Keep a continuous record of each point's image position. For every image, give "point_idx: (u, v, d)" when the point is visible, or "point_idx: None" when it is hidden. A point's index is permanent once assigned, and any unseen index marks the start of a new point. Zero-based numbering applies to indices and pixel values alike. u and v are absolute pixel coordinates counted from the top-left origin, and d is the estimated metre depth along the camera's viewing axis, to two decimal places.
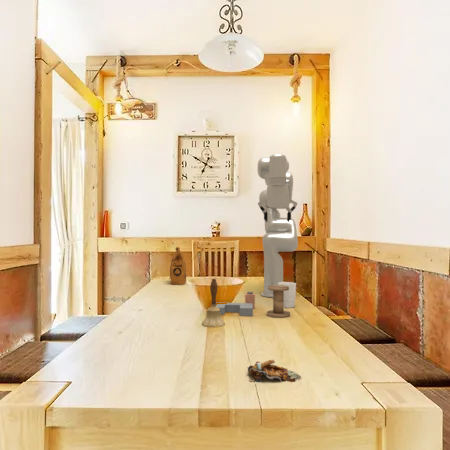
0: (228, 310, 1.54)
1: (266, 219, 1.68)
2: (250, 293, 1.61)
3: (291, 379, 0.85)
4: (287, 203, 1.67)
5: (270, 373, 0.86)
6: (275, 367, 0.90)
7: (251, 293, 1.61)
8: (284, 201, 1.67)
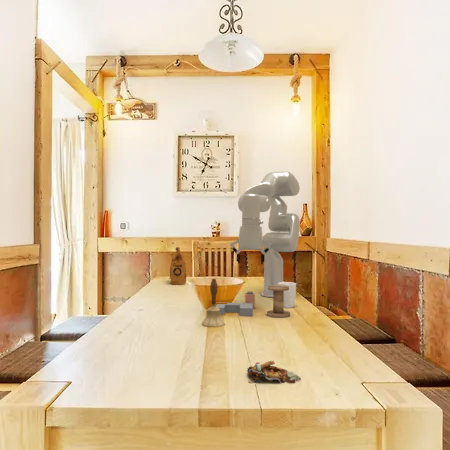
0: (228, 310, 1.54)
1: (238, 261, 1.61)
2: (250, 293, 1.61)
3: (291, 380, 0.84)
4: (260, 245, 1.60)
5: (269, 374, 0.85)
6: (275, 368, 0.89)
7: (251, 293, 1.61)
8: (257, 243, 1.60)
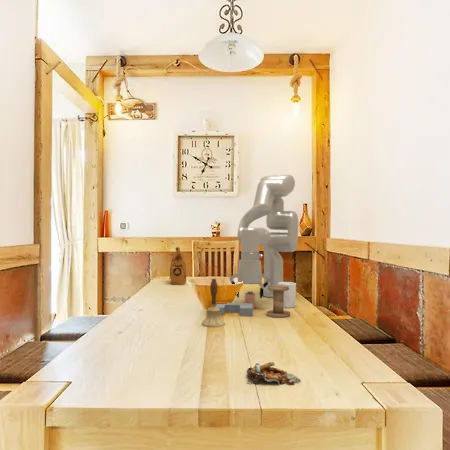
0: (228, 310, 1.54)
1: (237, 295, 1.61)
2: (250, 293, 1.61)
3: (290, 382, 0.83)
4: (259, 279, 1.60)
5: (268, 376, 0.84)
6: (275, 370, 0.88)
7: (251, 293, 1.61)
8: (256, 277, 1.60)
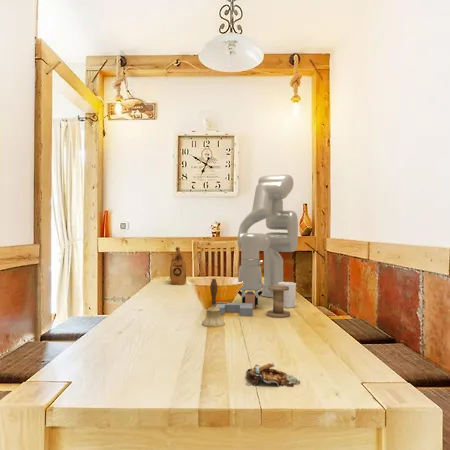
0: (228, 310, 1.54)
1: None
2: (250, 293, 1.61)
3: (289, 384, 0.82)
4: (260, 285, 1.60)
5: (268, 377, 0.83)
6: (274, 371, 0.87)
7: (251, 293, 1.61)
8: (256, 283, 1.60)
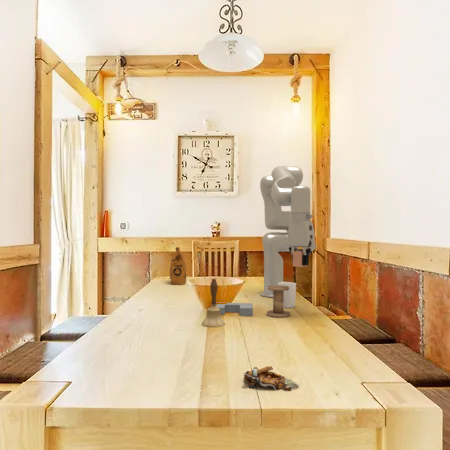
0: (228, 310, 1.54)
1: None
2: (298, 250, 1.49)
3: (286, 388, 0.80)
4: (305, 241, 1.45)
5: (264, 380, 0.82)
6: (273, 374, 0.85)
7: (299, 250, 1.49)
8: (302, 239, 1.46)
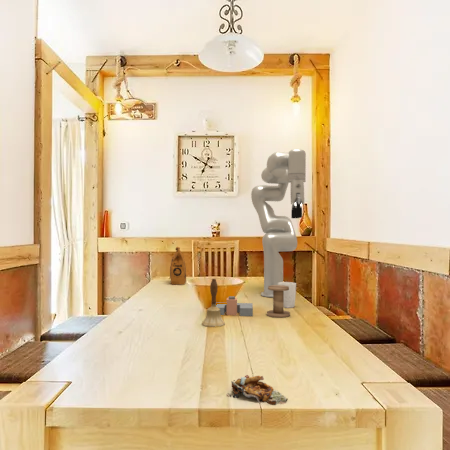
0: None
1: (291, 216, 1.72)
2: None
3: (270, 401, 0.74)
4: (292, 199, 1.63)
5: (249, 390, 0.77)
6: (263, 385, 0.79)
7: (228, 298, 1.51)
8: (292, 197, 1.64)
